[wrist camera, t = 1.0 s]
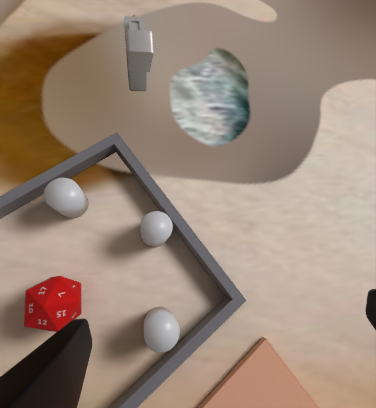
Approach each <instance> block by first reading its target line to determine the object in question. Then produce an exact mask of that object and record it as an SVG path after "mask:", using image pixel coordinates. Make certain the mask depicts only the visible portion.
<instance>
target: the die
mask: <svg viewBox="0 0 376 408" xmlns="http://www.w3.org/2000/svg"><path fill="white" fill-rule="evenodd" d="M80 314H81V283H79V282H77V281H74V280H71V279H68V278H65V277H62V276H57V277H51V278H49V279H47V280H45V281H43V282H41V283H39V284H37V285H35V286H33V287H32V288H30V289H28V290H26V299H25V321H24V326H25V327H31V328H37V329H43V330H49V331H55V332H58V331H59V330H60V329H61V328H63V327H64V326H65V325H66V324H68V323H69V322H70V321H72V320H74V319H76V318H77V317H78V316H79V315H80Z"/></svg>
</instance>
